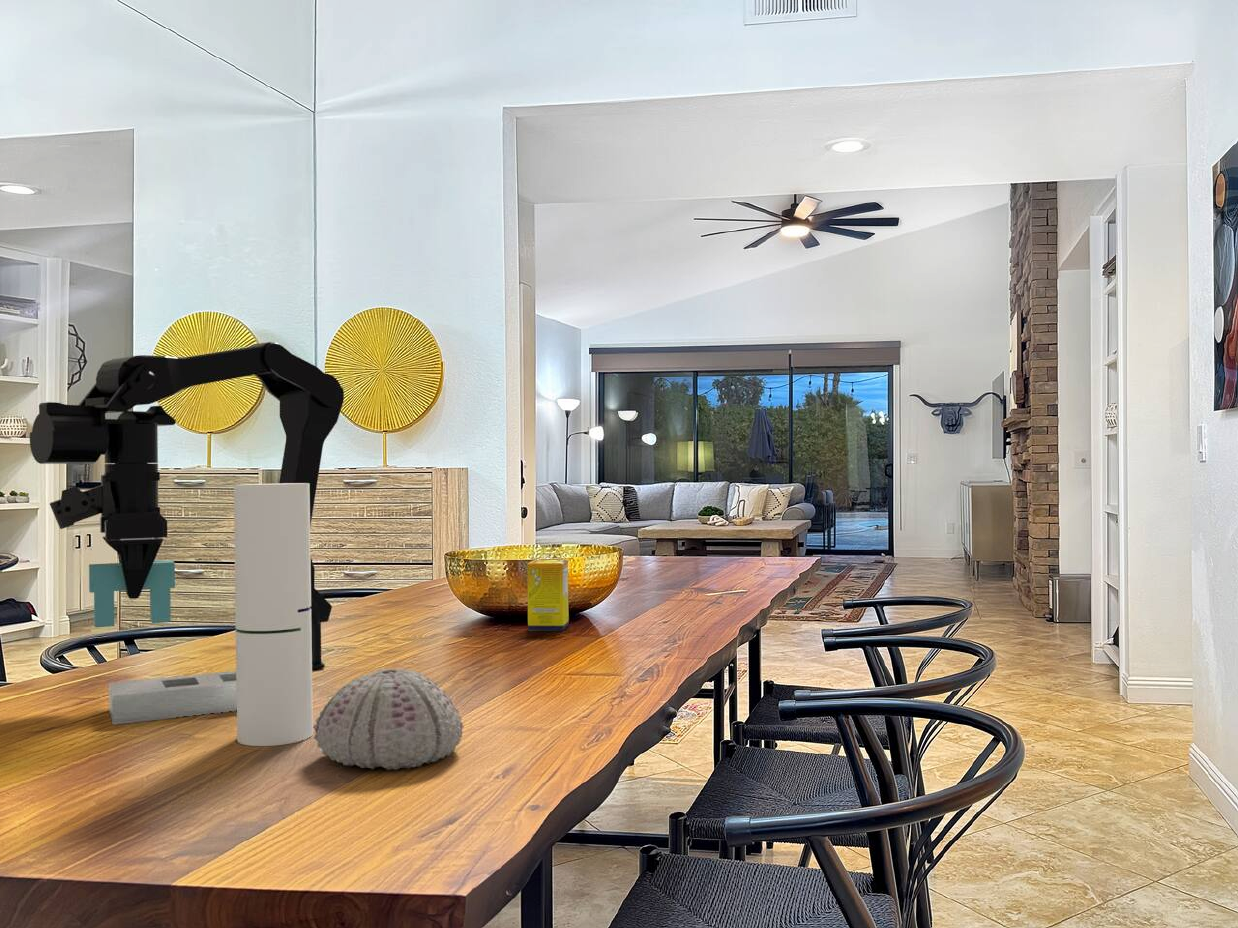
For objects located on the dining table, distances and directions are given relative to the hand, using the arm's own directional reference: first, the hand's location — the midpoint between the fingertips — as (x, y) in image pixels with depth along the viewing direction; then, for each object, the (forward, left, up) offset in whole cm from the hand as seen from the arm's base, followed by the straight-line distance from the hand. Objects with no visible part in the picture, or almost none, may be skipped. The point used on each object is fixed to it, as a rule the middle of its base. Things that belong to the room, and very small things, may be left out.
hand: (132, 596), depth 126 cm
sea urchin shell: (-19, +41, -12) cm, 47 cm away
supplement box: (-63, -23, -12) cm, 68 cm away
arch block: (0, 0, -3) cm, 3 cm away
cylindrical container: (-11, +28, -12) cm, 32 cm away
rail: (-7, +10, -12) cm, 17 cm away
